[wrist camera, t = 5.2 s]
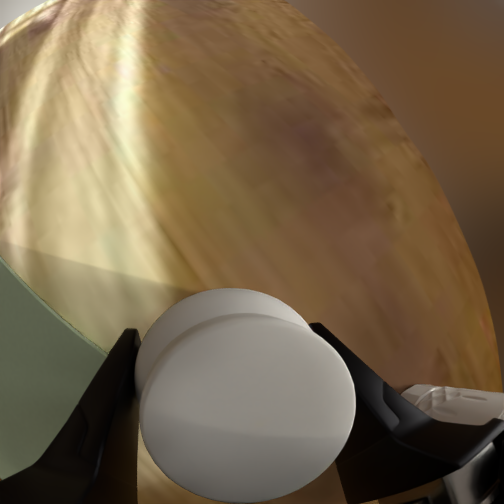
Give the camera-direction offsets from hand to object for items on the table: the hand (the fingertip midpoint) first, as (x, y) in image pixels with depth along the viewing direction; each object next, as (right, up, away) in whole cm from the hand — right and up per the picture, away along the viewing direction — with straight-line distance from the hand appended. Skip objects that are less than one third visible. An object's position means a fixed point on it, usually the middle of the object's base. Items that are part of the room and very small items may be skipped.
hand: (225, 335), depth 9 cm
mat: (-17, -8, +2) cm, 19 cm away
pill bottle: (-1, -3, +6) cm, 7 cm away
